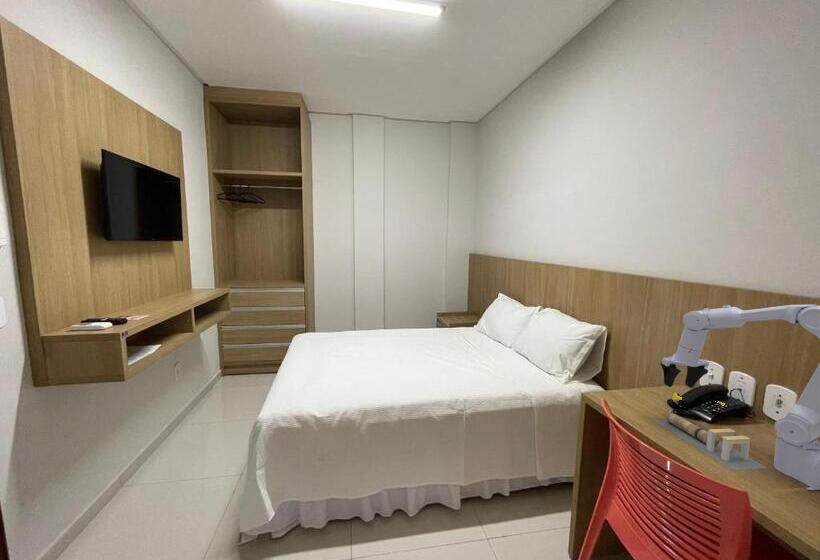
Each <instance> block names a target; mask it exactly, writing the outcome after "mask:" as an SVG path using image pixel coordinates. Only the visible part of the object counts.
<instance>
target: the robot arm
mask: <svg viewBox="0 0 820 560" xmlns="http://www.w3.org/2000/svg"><path fill="white" fill-rule="evenodd" d="M779 320H783V321H787V322H789V323H790V324H793V325H798V324H799V325H800V326H801V327H802V328H803V329H805V330H806V331H807V332H809V333H811V334H813V336H816V337H817V338H818V339H819V340H820V305H817V304H786V305H779V306H772V307H764V308H763V307H762V308H761V307H760V308H755V309H747V310H746V309H745V310H743V309H741V308H739V307H736V306H731V305H730V304H727V305H722V307H719V308H712V309H711V308H709V307H707V308H705V307H704V308H703V310H701V309H700V310H692V311H689V312H688V311H687V312H686V313H685V314H684V315H683V317H682V323H683V325H684V326H683V329H682V332H681V336H680V339H679V343H678V347H677V350H676V351H675V353H673V354H672V356H668V357H662V360H661V361H660V366H661V369H662V373H663V384H664V385H665V386H667V387H668V388H671V387H673V385H674V382H675V380H676V378H677V376H678V375H679V374H680V373H681V371H682V370H680V369H679V368H678V367H677V366H679V367H680V366H682V367H684V366H685V367H687V368H686V376H685V381H684V385H686V386H688V387H689V388H692V389H693V388H694V386H695V385H696V384H697V383H698V382H699V380H700V379H701V378H702V377H703V376H705V375H707V374H708V372H709V369H707V368H709V366H710V362H709V361H708V360H706V359H704V358H702V359H701V354H702V353H703V349H704V346H705V342H706V340H707V336H708V333H709V330H710V329H712V330H713V329H727V328H740V327H743V325H745V324H746V323H747V322H757V321H758V322H760V321H761V322H762V321H779ZM773 426H774V430H775V433H776V440H775V449H774V458H773V467H774V468H775V469H776V470H777V471H778V472H780V473H782V474H784V475H786V476H787V477H791V478H793V479H794V480H797V481H798V482H801V483H803V484H805V485H806V486H803V487H802V488H804V489H806V490H807V491H817V490H820V441H819V439H818V438H820V362H819V363H818V365H817V367H816V369H815V370H814V372H813V374H812V375H811V377H810V379H809V381H808V382H807V383H806V386H805V387H804V389H803V390H802V393H801V394H800V397H799V398H798V400H797V401H796V403H794V405H793V406H792V407H791V409H789V410H788V411H787V413H786V415H784V417H781V418H779V419H777V420H776V421H775V422H774V424H773Z"/></svg>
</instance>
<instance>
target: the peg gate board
mask: <svg viewBox="0 0 820 560" xmlns="http://www.w3.org/2000/svg"><path fill="white" fill-rule="evenodd" d="M652 421H653V422H654V423H656V424H658V425H659V426H661V427H663V428H664V429H666V431H667V430H668V432H671V433H672V434H674V435H676V436H677V437H679V438H681V439H682V440H684V441H685V442H687V443H688V444H691V445H692V446H694V447H695V448H697V449H699V450H700V451H702V452H704V453H705V454H707V455H709V456H710V457H712V458H714V459H715V460H717V461H719V462H720V463H722V464H723V465H725V466H726V467H728V468H729V469H730V470H733V471H737V470H753V469H756V470H757V469H768V467H767V466H765V465H764V464H762V463H760V462H758V461H756V460H754V459H752V457H750V455H749V454H750V446H751V438H749V437H748V436H745V435H735V434H736V433H737V431H735V430H734V429H732V428H711V429H707V432H708V436H707V444H706V443H704V442H703V441H701V440H699V439H697V438H696V437H694V436H692V435H691V434H689V433H687V432H685V431H684V430H682V429H680V428H678V427H677V426H675V425H673V424H671V423H670V422H668V421H667V419H657V420H656V419H655V420H652ZM715 436H716V437H718V436H719V437H720V436H721V439H722V441H720V440H719V443H718V445H717V446H715V447H714V444H715ZM736 444H737V445H740V451H738V450H737V449H734V448H733V447H734V445H736Z"/></svg>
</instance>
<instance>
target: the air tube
mask: <svg viewBox="0 0 820 560" xmlns="http://www.w3.org/2000/svg"><path fill="white" fill-rule="evenodd" d="M665 420H667V421H668V422H670V423H671V424H673V425H675V426H677V427H678V428H680V429H682V430H684V431H685V432H687V433H689V434H691V435H692V436H694V437H696V438H697V439H699V440H701V441H703V442H704V443H706V444H707V436H708V430H707V431H706V429H704V428H702V427H700V426H698V425H697V424H693V423H692V422H691V421H689V420H686V418H683V417H681V416H679V415H678V414H675V413H673V412H668V414H667V415H666V419H665ZM719 441H720V439H719V437H718V436H715V444H714V447H715V446H717V445H718V443H719Z"/></svg>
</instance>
